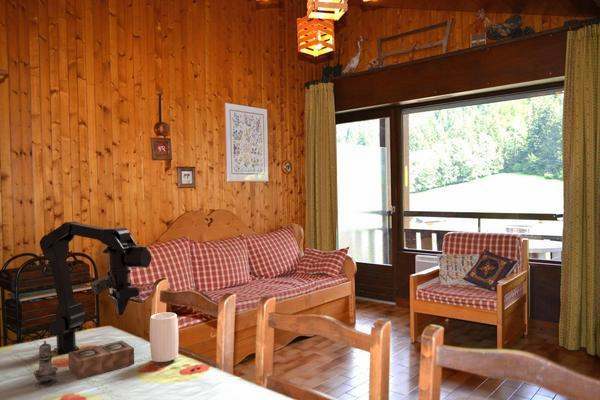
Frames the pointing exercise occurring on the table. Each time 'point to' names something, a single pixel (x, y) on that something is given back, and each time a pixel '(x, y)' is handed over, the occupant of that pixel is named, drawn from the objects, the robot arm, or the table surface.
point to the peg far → (114, 347)
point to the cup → (164, 336)
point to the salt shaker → (45, 367)
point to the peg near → (87, 353)
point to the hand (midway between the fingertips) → (120, 315)
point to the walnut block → (100, 359)
